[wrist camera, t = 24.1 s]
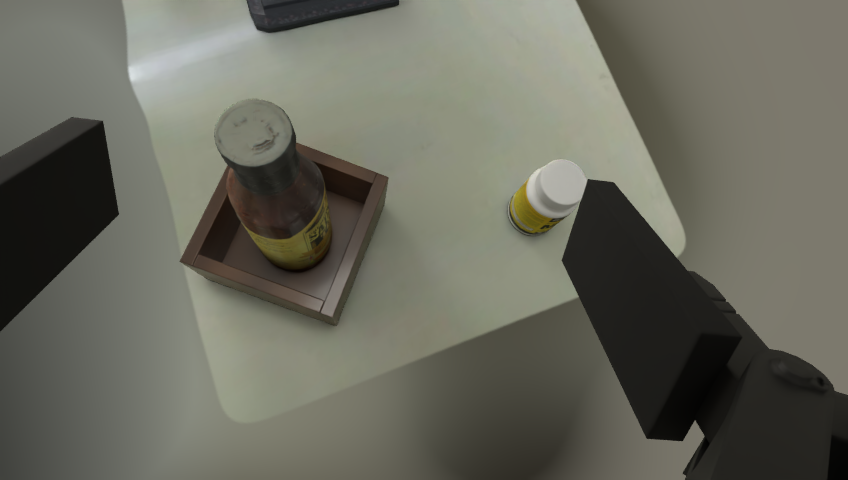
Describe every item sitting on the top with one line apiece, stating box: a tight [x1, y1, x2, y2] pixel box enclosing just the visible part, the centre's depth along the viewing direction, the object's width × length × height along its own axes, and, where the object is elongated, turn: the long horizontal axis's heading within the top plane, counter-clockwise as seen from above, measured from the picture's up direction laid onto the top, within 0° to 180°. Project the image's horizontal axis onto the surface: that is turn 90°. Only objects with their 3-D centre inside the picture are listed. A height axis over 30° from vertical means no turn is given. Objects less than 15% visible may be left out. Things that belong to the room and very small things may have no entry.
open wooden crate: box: [180, 143, 388, 326], centre depth 44 cm, size 12×12×7 cm
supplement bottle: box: [508, 159, 587, 235], centre depth 47 cm, size 5×5×8 cm
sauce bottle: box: [215, 99, 332, 272], centre depth 37 cm, size 6×6×20 cm
